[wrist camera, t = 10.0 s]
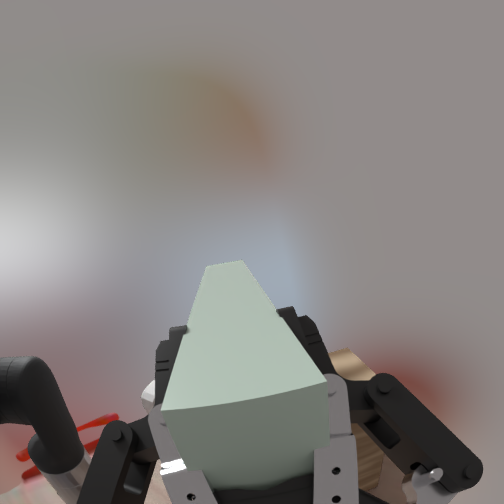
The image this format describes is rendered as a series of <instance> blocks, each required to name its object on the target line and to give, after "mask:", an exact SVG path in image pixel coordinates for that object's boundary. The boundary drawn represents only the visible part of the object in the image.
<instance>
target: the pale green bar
mask: <svg viewBox="0 0 504 504" xmlns="http://www.w3.org/2000/svg"><path fill="white" fill-rule="evenodd" d="M161 413H162V415H163V418H164V420H165V423H166V425H167V427H168V430H169V432H170V434H171V437H172V439H173V441H174V443H175V446H176V448H177V450H178V452H179V454H180V456H181V458H182V460H183V463H184V465H185V467H186V469H187V471H195V470H202V471H203V473H204V474H205V475H206V477H207V478H208V480H209V481H210V482H211V484H212V486H213V489H214V491H221V490H230V489H246V490H268V489H270V488H272V487H274V486H277V485H279V484H281V483H283V482H285V481H287V480H289V479H292V478H296V477H300V476H304V475H308V474H312V462H313V455H314V450H315V449H319V448H322V447H326V446H329V445H330V429H329V405H328V386H327V380H326V379H325V377H324V376H323V375H322V373H321V372H320V370H319V369H318V368H317V366H316V365H315V363H314V362H313V360H312V359H311V358H310V356H309V355H308V353H307V352H306V351H305V349H304V348H303V346H302V345H301V344H300V342H299V341H298V339H297V338H296V336H295V335H294V334H293V332H292V331H291V329H290V328H289V326H288V325H287V324H286V322H285V321H284V319H283V318H282V317H279V315H278V314H277V312H276V308H275V306H274V305H273V304H272V302H271V301H270V299H269V298H268V296H267V295H266V294H265V292H264V291H263V289H262V288H261V286H260V285H259V284H258V282H257V281H256V279H255V278H254V276H253V275H252V274H251V272H250V271H249V269H248V268H247V266H246V265H245V263H244V262H243V261H242V260H239V261H233V262H227V263H222V264H217V265H210V266H206V269H205V272H204V275H203V278H202V281H201V283H200V286H199V289H198V292H197V295H196V298H195V301H194V304H193V307H192V310H191V313H190V316H189V319H188V322H187V331H186V334H185V335H183V338H182V341H181V344H180V348H179V351H178V354H177V357H176V360H175V364H174V367H173V370H172V373H171V377H170V380H169V383H168V387H167V390H166V394H165V397H164V400H163V404H162V407H161Z"/></svg>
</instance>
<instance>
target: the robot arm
mask: <svg viewBox="0 0 504 504" xmlns="http://www.w3.org/2000/svg"><path fill="white" fill-rule="evenodd" d="M276 312H277V314H278V315H279V317H282V318H283V319H284V321H285V322H286V324H287V325H288V326H289V328H290V329H291V331H292V332H293V334H294V335H295V336H296V338H297V339H298V341H299V342H300V344H301V345H302V346H303V348H304V349H305V351H306V352H307V353H308V355H309V356H310V358H311V359H312V360H313V362H314V363H315V365H316V366H317V368H318V369H319V370H320V372H321V373H322V375H323V376H324V377H325V379H326V380H327V386H328V405H329V429H330V445H329V446H326V447H322V448H319V449H315V450H314V455H313V462H312V474H308V475H304V476H300V477H296V478H292V479H289V480H287V481H285V482H283V483H281V484H279V485H277V486H274V487H272V488H270V489H268V490H246V489H230V490H221V491H214V489H213V486H212V484H211V482H210V481H209V480H208V478H207V477H206V475H205V474H204V473H203V471H202V470H195V471H187V469H186V467H185V465H184V463H183V460H182V458H181V456H180V454H179V452H178V450H177V448H176V446H175V443H174V441H173V439H172V437H171V434H170V432H169V430H168V427H167V425H166V423H165V420H164V418H163V415H162V413H161V407H162V404H163V400H164V397H165V394H166V390H167V387H168V383H169V380H170V377H171V373H172V370H173V367H174V364H175V360H176V357H177V354H178V351H179V348H180V344H181V341H182V338H183V335H185V334H186V331H187V326H186V325H185V326H179V327H172V328H170V330H169V340H165V341H161V342H160V344H159V346H158V348H157V350H156V365H155V370H156V372H155V403H154V407H153V409H152V410H151V411H150V413H149V414H148V415H147V416H146V417H144V418H142V419H140V420H137V421H134V422H132V423H129V424H126V423H125V422H123V421H119V420H116V421H112V422H110V423H108V424H107V425H106V426H105V427H104V429H103V432H102V434H101V437H100V439H99V442H98V444H97V447H96V449H95V452H94V455H93V457H92V459H91V457H90V456H89V454H88V452H87V451H86V449H85V448H84V446H83V445H82V443H81V441H80V439H79V436H78V432H77V429H76V426H75V424H74V421H73V419H72V417H71V415H70V413H69V411H68V409H67V407H66V404H65V402H64V399H63V397H62V394H61V392H60V389H59V387H58V384H57V382H56V380H55V378H54V375H53V374H52V372H51V370H50V369H49V367H48V366H47V364H46V363H45V362H44V361H43V360H41V359H40V358H37V357H34V356H26V357H25V356H23V357H5V358H0V424H4V423H15V424H25V425H32V426H33V428H34V430H35V432H36V434H35V435H34V436H33V437H32V438H31V440H30V441H29V443H28V453H29V456H30V458H31V459H32V461H33V462H34V464H35V465H36V466H37V468H38V469H39V470H40V472H41V473H42V474H43V475H44V477H45V478H46V479H47V481H48V482H49V483H50V484H51V485H52V487H53V488H54V489H55V490H56V491H57V494H58V495H59V496H60V497H61V498H62V500H63V501H64V502H65V503H66V504H144V501H145V498H146V495H147V491H148V488H149V485H150V481H151V478H152V475H153V471H154V468H155V465H156V462H157V460H158V459H160V460H161V464H162V468H161V476H162V479H163V482H164V485H165V487H166V490H167V492H168V495H169V497H170V500H171V502H172V504H389V503H387V502H385V501H383V500H381V499H379V498H377V497H375V496H373V495H371V494H369V493H367V492H366V491H364V490H362V489H360V488H358V467H357V450H356V440H355V436H354V434H352V431H351V423H357V424H358V425H359V426H360V427H361V428H362V429H363V430H364V431H365V433H366V434H367V435H368V436H369V437H370V438H371V439H372V440H373V441H374V442H375V443H376V444H377V446H378V447H379V448H380V449H381V450H382V451H383V452H384V453H385V454H386V455H387V456H388V457H389V458H390V459H391V460H392V461H393V462H394V464H395V465H396V466H397V467H398V468H399V469H400V470H401V471H402V472H403V473H404V474H405V477H404V479H403V481H402V490H403V492H404V493H405V495H406V498H407V504H448V503H449V502H450V501H451V500H452V499H453V497H454V496H455V495H456V494H457V493H458V492H460V491H463V490H466V489H468V488H471V487H473V486H475V485H476V484H477V483H478V482H479V480H480V478H481V476H482V473H483V465H482V462H481V460H480V459H479V458H478V457H477V456H476V455H475V454H474V453H472V452H471V450H470V449H469V448H467V447H466V446H465V445H464V444H463V443H462V442H461V441H460V440H459V439H458V438H457V437H456V436H455V435H454V434H453V433H452V432H451V431H450V430H449V429H448V428H447V427H446V426H445V425H444V424H443V423H442V422H441V421H440V420H439V419H438V418H436V416H435V415H433V414H432V413H431V412H430V411H429V410H428V409H427V408H426V407H425V406H424V405H423V404H422V403H421V402H420V401H419V400H418V399H417V398H416V397H415V396H414V395H413V394H412V393H411V392H409V391H408V390H407V388H405V387H404V386H403V385H402V384H401V383H400V382H399V381H398V380H397V379H396V378H395V377H394V376H392V375H390V374H387V373H380V374H377V375H375V376H373V377H372V378H371V379H370V380H357V381H354V380H348V379H345V378H343V377H341V376H340V375H339V374H338V373H337V372H336V370H335V369H334V366H333V364H332V362H331V359H330V357H329V354H328V352H327V350H326V347H325V345H324V343H323V342H322V338H321V336H320V334H319V331H318V329H317V327H316V324H315V323H314V322H313V321H312V320H311V319H310V318H309V317H308V316H306V315H305V316H302V317H297V314H296V312H295V309H294V307H293V306H291V307H286V308H281V309H276ZM192 499H193V500H192Z"/></svg>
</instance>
